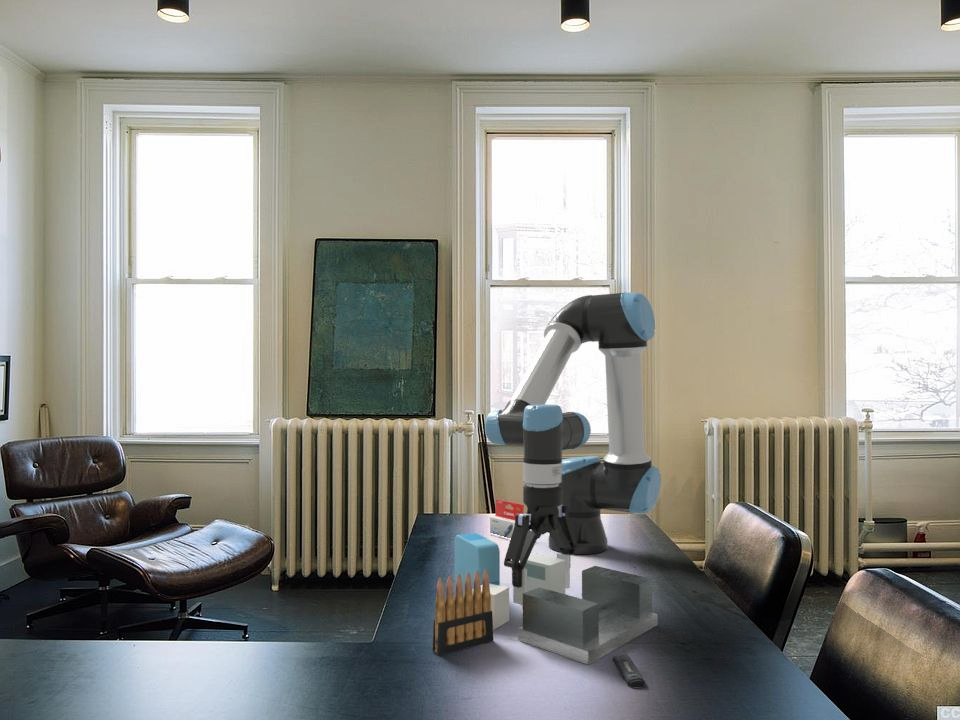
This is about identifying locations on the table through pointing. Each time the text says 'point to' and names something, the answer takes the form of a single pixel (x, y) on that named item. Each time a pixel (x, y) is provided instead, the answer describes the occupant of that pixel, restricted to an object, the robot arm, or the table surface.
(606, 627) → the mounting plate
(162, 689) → the table surface
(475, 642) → the ammunition clip
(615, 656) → the usb stick
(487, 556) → the data package
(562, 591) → the block
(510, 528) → the ink cartridge box
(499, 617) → the block
